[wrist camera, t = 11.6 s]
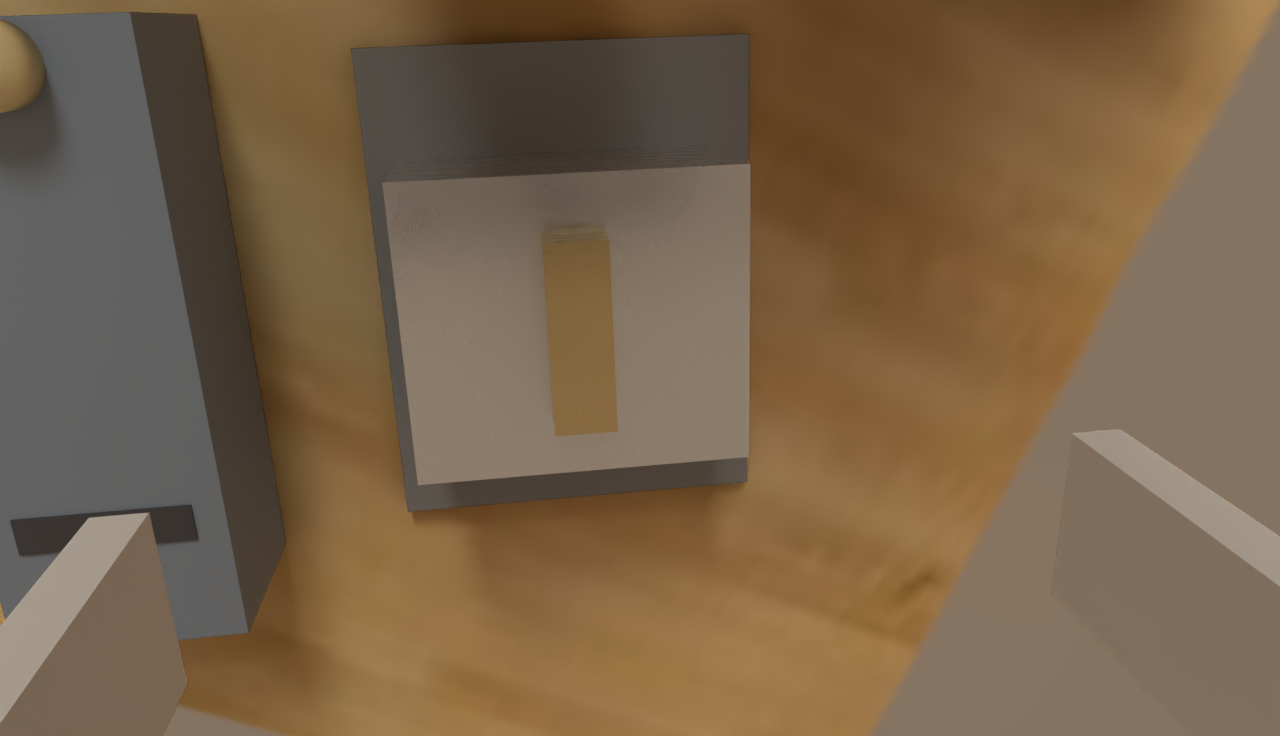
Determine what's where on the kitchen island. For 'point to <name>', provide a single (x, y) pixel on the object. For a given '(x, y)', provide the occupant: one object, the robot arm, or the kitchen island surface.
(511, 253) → the lever cap
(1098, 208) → the kitchen island surface
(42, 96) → the block plane
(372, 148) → the rubber mat
